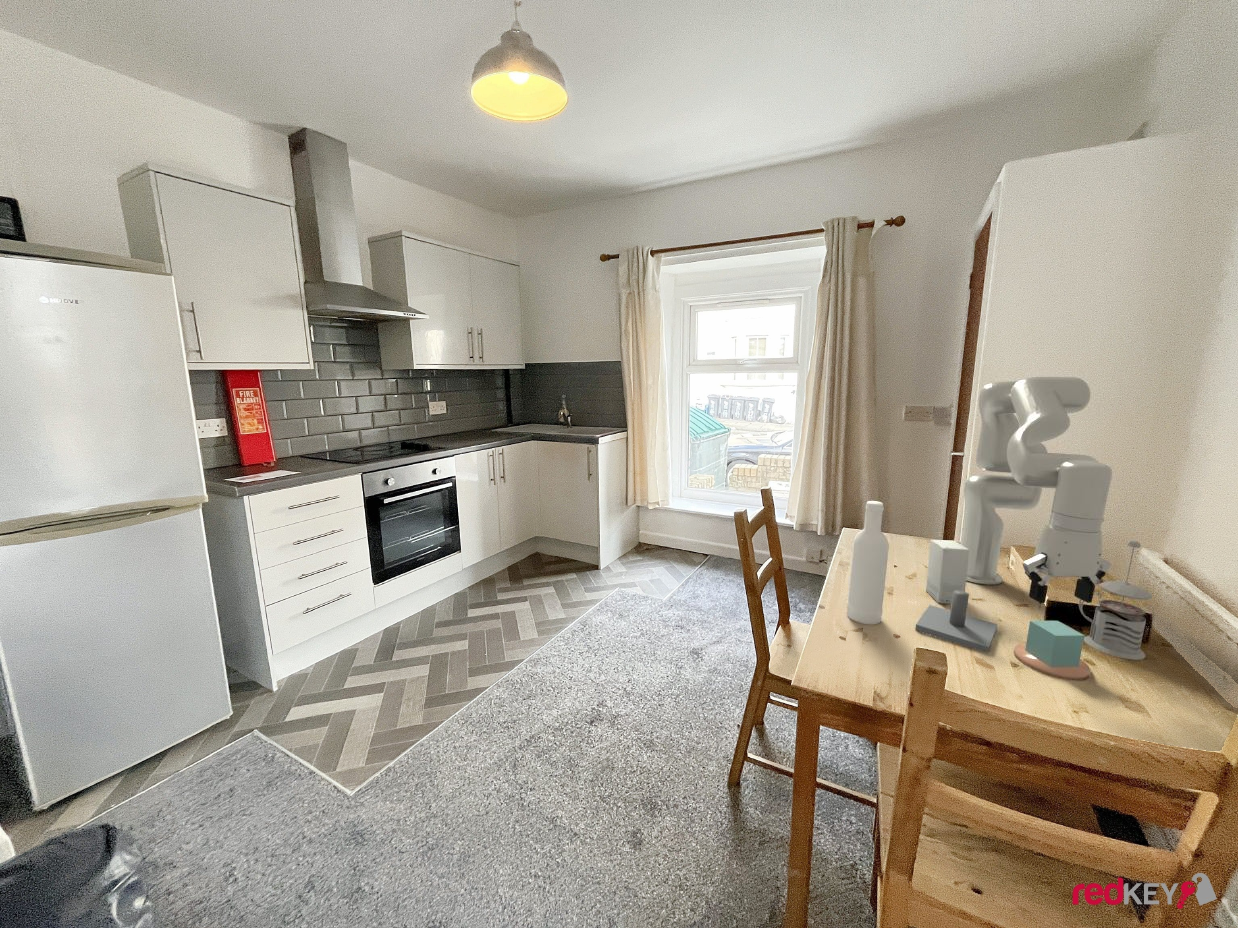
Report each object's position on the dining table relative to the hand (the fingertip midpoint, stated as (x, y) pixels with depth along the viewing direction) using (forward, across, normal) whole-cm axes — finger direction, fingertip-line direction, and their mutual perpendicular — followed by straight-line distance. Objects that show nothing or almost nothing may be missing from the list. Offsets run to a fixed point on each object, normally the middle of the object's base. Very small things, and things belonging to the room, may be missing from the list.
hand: (1059, 599), depth 99 cm
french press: (+15, -19, -5) cm, 24 cm away
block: (+13, 0, +1) cm, 13 cm away
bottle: (+14, +30, -19) cm, 38 cm away
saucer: (+14, 0, +1) cm, 14 cm away
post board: (+14, +11, -12) cm, 22 cm away
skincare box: (+15, +3, -29) cm, 33 cm away
